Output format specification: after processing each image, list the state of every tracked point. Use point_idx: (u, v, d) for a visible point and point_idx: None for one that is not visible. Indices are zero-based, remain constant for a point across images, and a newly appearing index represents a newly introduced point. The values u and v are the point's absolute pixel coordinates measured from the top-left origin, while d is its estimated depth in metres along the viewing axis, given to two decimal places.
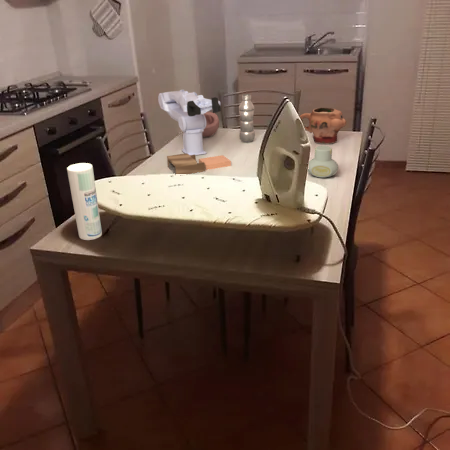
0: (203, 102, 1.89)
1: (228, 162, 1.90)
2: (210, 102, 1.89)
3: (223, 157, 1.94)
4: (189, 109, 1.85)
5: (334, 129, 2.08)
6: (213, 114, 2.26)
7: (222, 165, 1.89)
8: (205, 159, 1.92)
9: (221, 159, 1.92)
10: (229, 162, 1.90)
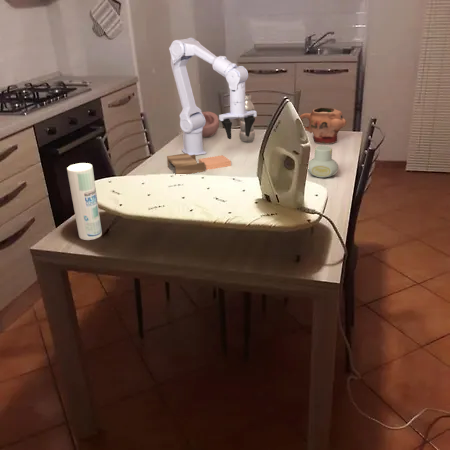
0: None
1: (228, 162, 1.90)
2: None
3: (223, 157, 1.94)
4: None
5: (334, 129, 2.08)
6: (213, 114, 2.26)
7: (222, 165, 1.89)
8: (205, 159, 1.92)
9: (221, 159, 1.92)
10: (229, 162, 1.90)
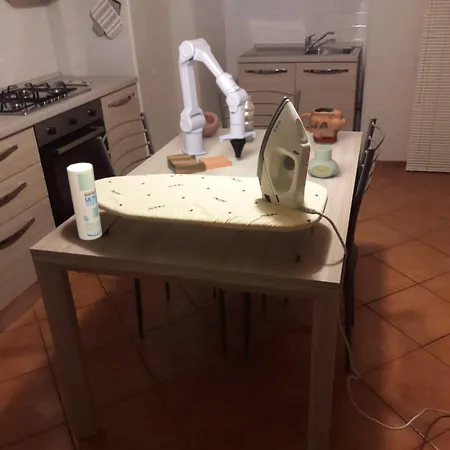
0: None
1: (228, 162, 1.90)
2: None
3: (223, 157, 1.94)
4: None
5: (334, 129, 2.08)
6: (213, 114, 2.26)
7: (222, 165, 1.89)
8: (205, 159, 1.92)
9: (221, 159, 1.92)
10: (229, 162, 1.90)
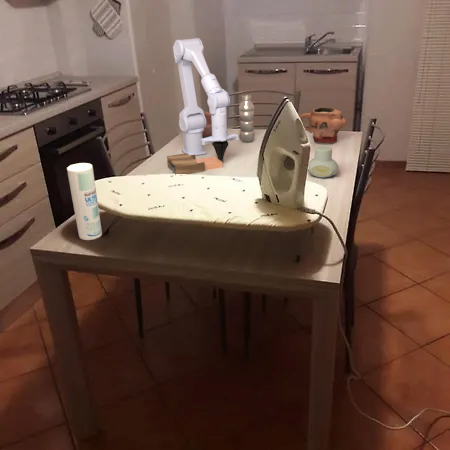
0: None
1: (220, 163, 1.88)
2: None
3: (215, 158, 1.93)
4: None
5: (334, 129, 2.08)
6: None
7: (214, 166, 1.88)
8: (197, 160, 1.91)
9: (213, 160, 1.91)
10: (220, 164, 1.89)
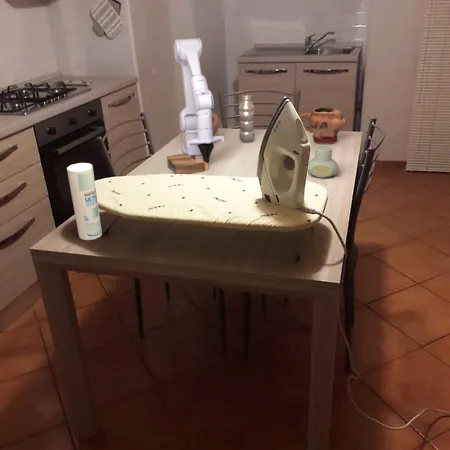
0: None
1: (205, 165, 1.86)
2: None
3: (201, 160, 1.90)
4: None
5: (334, 129, 2.08)
6: (213, 114, 2.26)
7: None
8: None
9: (199, 162, 1.89)
10: (206, 166, 1.86)
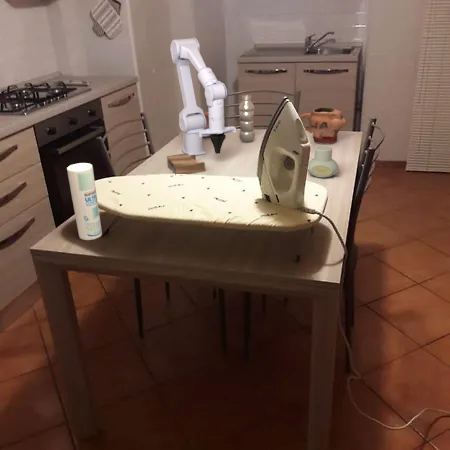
0: None
1: None
2: None
3: (197, 161, 1.90)
4: None
5: (334, 129, 2.08)
6: None
7: None
8: None
9: None
10: None
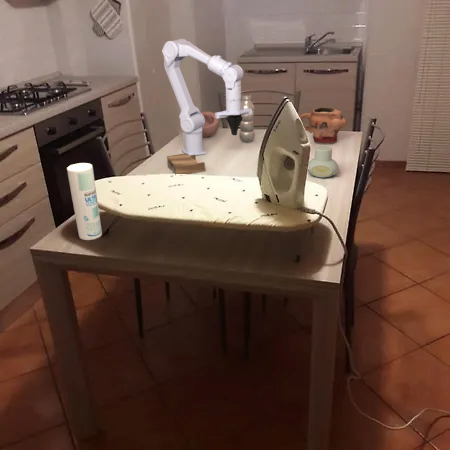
0: None
1: None
2: None
3: (197, 161, 1.90)
4: None
5: (334, 129, 2.08)
6: (213, 114, 2.26)
7: None
8: None
9: None
10: None
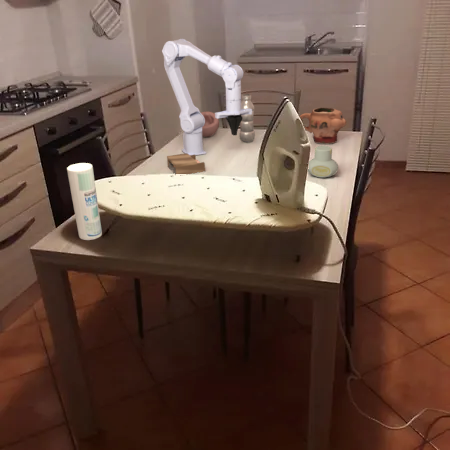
0: None
1: None
2: None
3: (197, 162, 1.90)
4: None
5: (334, 129, 2.08)
6: (213, 114, 2.26)
7: None
8: None
9: None
10: None
